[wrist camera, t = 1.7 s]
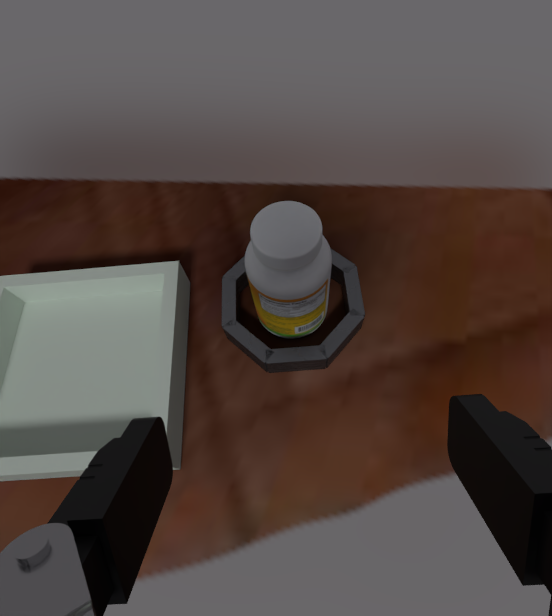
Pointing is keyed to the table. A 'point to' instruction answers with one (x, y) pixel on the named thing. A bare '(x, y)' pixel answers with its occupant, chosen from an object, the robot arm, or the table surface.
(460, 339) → the table surface
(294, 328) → the supplement bottle
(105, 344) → the tray
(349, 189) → the table surface
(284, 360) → the holder ring
